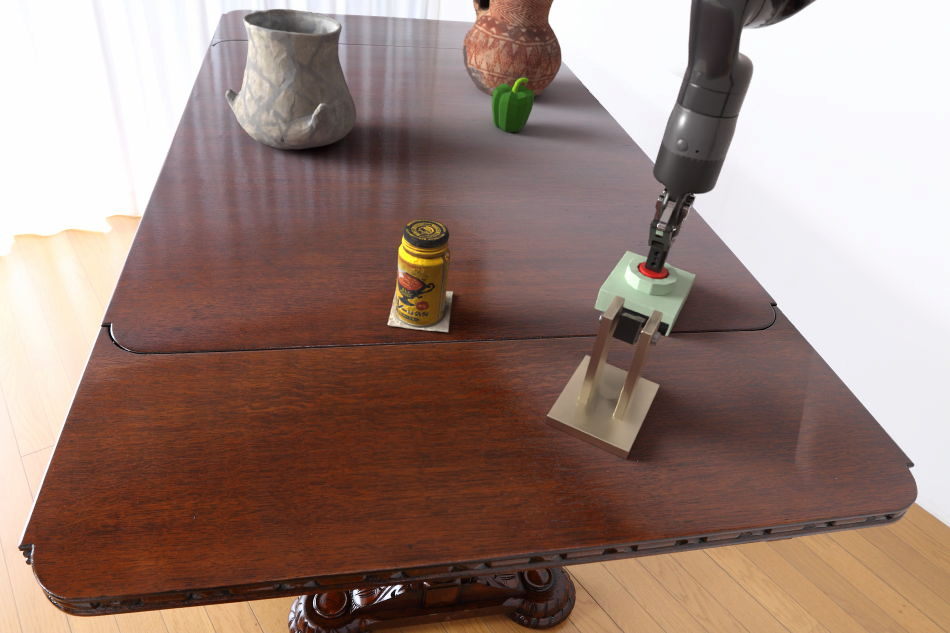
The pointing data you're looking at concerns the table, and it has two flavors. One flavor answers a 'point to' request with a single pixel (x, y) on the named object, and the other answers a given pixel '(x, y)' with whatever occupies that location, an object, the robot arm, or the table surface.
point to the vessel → (293, 81)
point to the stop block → (646, 289)
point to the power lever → (634, 326)
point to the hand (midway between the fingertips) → (653, 268)
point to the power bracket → (608, 390)
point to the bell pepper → (512, 105)
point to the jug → (512, 45)
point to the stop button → (652, 274)
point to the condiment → (422, 278)
